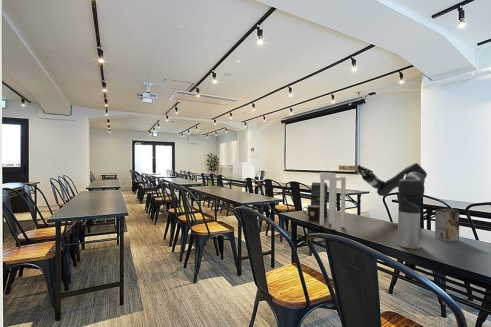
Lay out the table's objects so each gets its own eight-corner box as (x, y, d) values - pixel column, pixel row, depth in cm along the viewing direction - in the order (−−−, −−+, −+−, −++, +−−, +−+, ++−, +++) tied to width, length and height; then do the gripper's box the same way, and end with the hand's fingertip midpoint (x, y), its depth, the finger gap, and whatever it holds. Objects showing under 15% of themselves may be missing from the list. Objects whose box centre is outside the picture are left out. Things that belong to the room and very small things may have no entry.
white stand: (345, 227, 160) (345, 173, 160) (333, 229, 156) (334, 173, 155) (330, 223, 171) (331, 172, 170) (319, 224, 166) (320, 172, 166)
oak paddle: (368, 170, 173) (368, 165, 173) (349, 170, 164) (349, 165, 164) (357, 169, 181) (357, 165, 180) (338, 170, 172) (338, 165, 172)
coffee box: (447, 237, 142) (448, 208, 142) (459, 240, 136) (460, 210, 136) (434, 238, 140) (434, 209, 140) (445, 241, 134) (446, 211, 134)
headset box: (327, 217, 187) (327, 182, 186) (310, 216, 190) (311, 182, 190) (326, 211, 208) (326, 180, 208) (311, 210, 212) (311, 180, 211)
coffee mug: (322, 220, 178) (322, 206, 178) (314, 222, 173) (314, 207, 173) (309, 217, 187) (309, 204, 187) (301, 218, 183) (301, 205, 182)
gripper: (377, 183, 174) (363, 171, 166) (360, 182, 186) (346, 170, 179) (381, 174, 175) (367, 161, 168) (363, 173, 188) (349, 161, 180)
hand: (356, 166), depth 173 cm, fingers closed on oak paddle, 2 cm apart
